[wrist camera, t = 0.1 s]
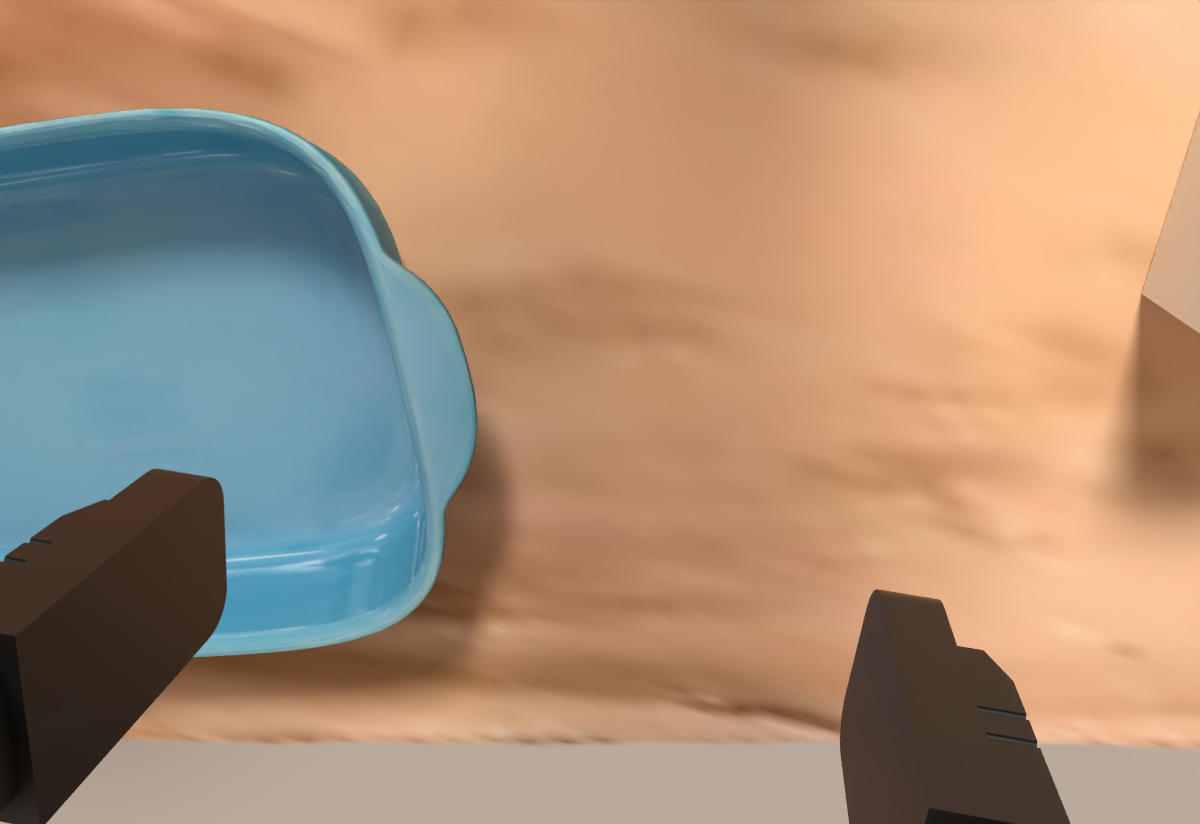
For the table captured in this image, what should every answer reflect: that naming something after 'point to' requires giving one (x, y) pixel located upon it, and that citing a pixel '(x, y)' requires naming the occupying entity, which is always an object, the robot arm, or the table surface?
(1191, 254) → the slotted beam
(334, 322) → the casserole dish
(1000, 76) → the table surface
